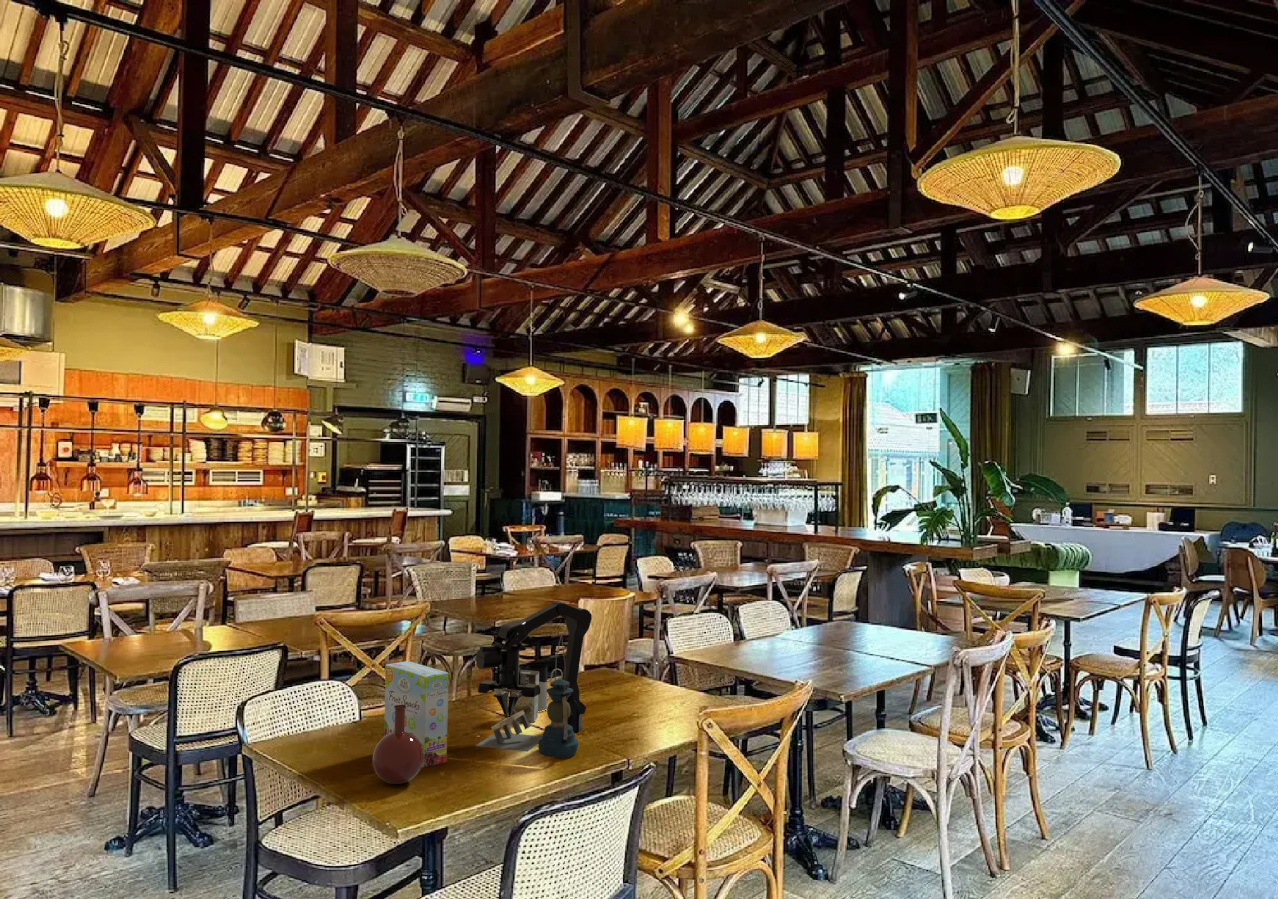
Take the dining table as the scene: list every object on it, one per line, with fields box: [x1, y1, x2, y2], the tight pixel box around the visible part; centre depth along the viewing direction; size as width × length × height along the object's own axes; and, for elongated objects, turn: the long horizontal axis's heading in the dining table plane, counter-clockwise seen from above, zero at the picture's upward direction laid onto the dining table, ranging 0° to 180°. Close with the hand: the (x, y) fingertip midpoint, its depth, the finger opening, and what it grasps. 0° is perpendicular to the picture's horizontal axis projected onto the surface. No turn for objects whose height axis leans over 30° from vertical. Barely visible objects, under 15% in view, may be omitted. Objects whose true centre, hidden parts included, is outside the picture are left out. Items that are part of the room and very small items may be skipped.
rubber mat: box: [475, 731, 543, 752], centre depth 269 cm, size 17×16×1 cm
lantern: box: [537, 634, 579, 759], centre depth 260 cm, size 14×12×35 cm
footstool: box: [490, 710, 531, 744], centre depth 269 cm, size 6×8×8 cm
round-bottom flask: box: [372, 705, 424, 785], centre depth 231 cm, size 13×13×20 cm
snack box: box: [383, 660, 450, 769], centre depth 253 cm, size 22×9×26 cm, turn 47°
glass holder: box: [525, 664, 563, 711], centre depth 311 cm, size 9×14×15 cm, turn 115°
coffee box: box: [508, 669, 539, 723], centre depth 296 cm, size 9×6×16 cm
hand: (508, 717), depth 269 cm, fingers closed
